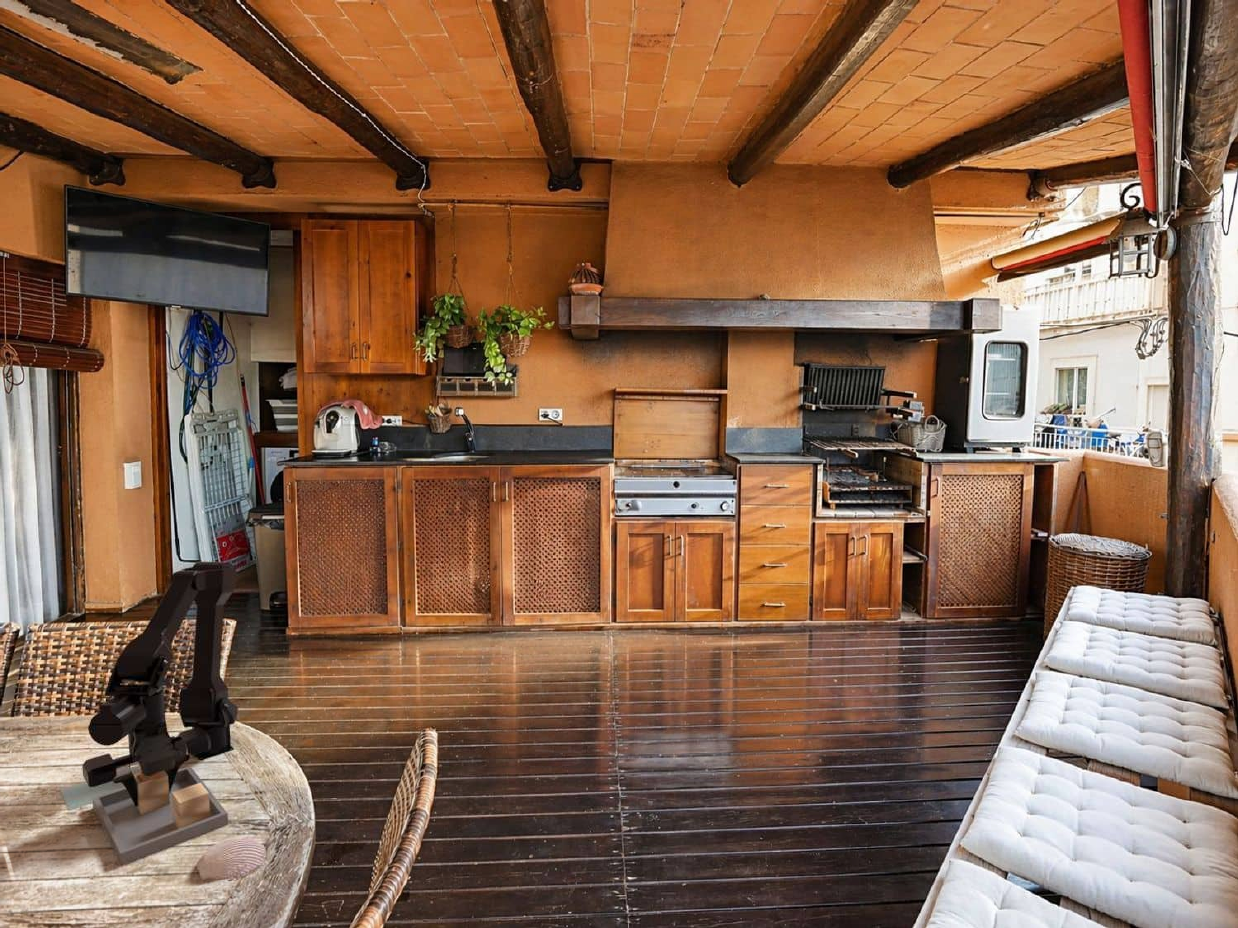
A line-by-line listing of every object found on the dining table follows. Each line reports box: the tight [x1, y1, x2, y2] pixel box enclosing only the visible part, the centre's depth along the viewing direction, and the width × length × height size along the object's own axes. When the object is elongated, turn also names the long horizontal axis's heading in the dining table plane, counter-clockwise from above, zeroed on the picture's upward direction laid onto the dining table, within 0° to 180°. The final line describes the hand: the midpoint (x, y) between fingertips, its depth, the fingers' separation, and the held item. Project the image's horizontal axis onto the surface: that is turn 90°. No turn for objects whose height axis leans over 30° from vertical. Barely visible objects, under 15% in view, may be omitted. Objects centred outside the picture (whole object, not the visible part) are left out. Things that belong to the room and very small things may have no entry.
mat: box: [59, 766, 140, 811], centre depth 138 cm, size 12×9×1 cm
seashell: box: [196, 836, 267, 882], centre depth 118 cm, size 10×6×10 cm
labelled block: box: [134, 771, 170, 814], centre depth 132 cm, size 4×4×6 cm
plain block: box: [172, 783, 210, 829], centre depth 127 cm, size 4×4×6 cm
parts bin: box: [92, 765, 229, 867], centre depth 129 cm, size 16×22×2 cm
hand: (151, 799), depth 133 cm, fingers closed on labelled block, 4 cm apart
